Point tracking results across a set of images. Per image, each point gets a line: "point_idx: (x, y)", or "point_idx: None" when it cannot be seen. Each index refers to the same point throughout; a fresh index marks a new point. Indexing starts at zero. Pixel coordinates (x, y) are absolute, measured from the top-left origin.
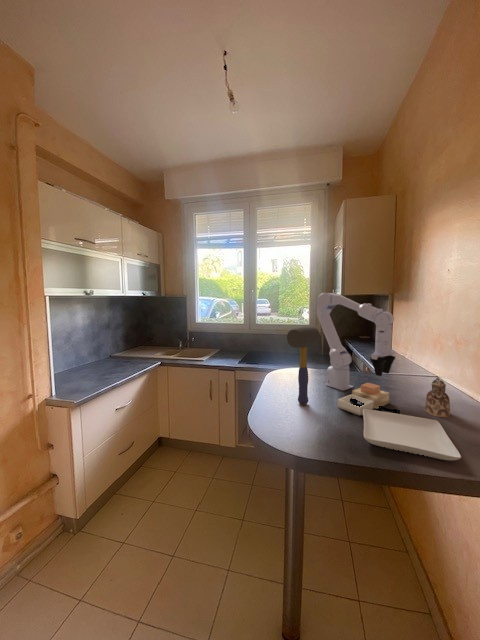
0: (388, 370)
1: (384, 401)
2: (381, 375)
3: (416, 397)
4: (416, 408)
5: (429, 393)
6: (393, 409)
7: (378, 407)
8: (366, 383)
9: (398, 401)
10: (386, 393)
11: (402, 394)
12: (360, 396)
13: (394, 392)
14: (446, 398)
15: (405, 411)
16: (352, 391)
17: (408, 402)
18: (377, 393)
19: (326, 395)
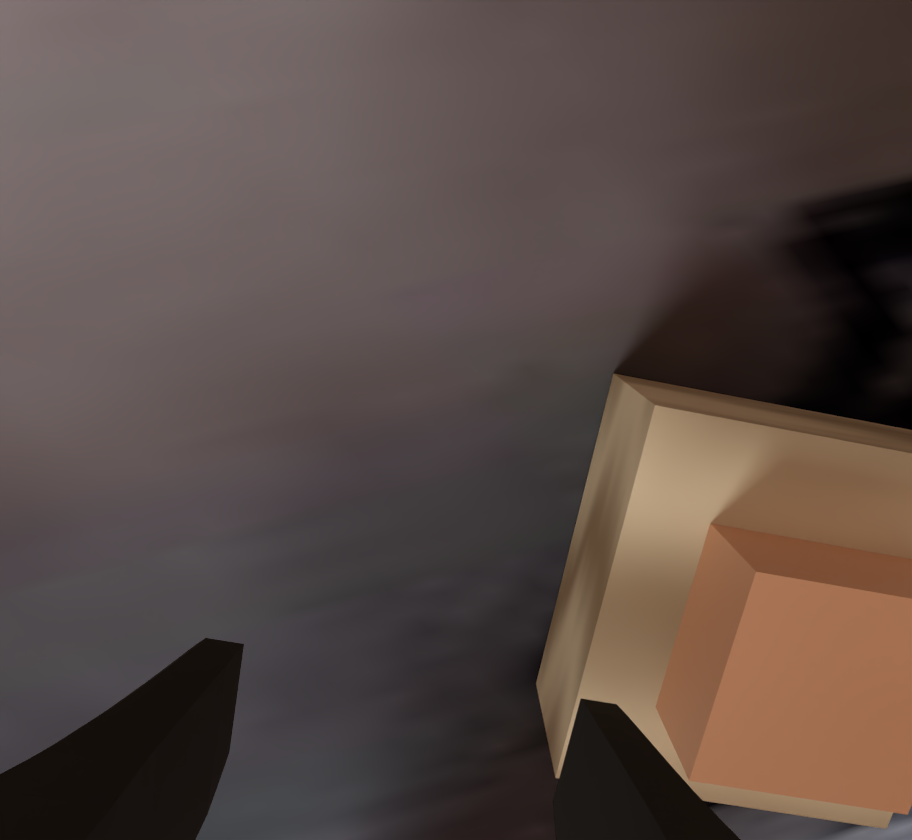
0: (215, 689)
1: (761, 408)
2: (595, 705)
3: (87, 117)
4: (582, 28)
5: None
6: (816, 271)
7: (890, 427)
8: (758, 779)
9: (462, 289)
10: (716, 432)
11: (109, 313)
12: None
13: (108, 422)
14: None
15: (795, 130)
16: (879, 813)
17: (406, 170)
18: (804, 535)
19: None
